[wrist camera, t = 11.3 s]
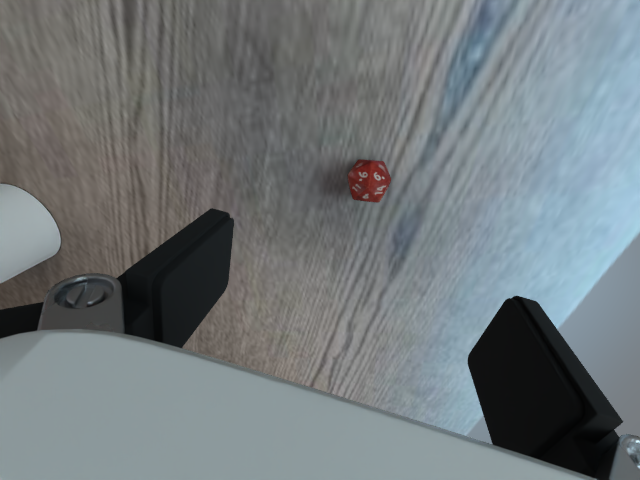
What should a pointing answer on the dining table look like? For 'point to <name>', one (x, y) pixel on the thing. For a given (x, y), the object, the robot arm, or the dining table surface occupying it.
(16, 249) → the cup
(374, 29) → the dining table surface
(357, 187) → the die
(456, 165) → the dining table surface
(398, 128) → the dining table surface
